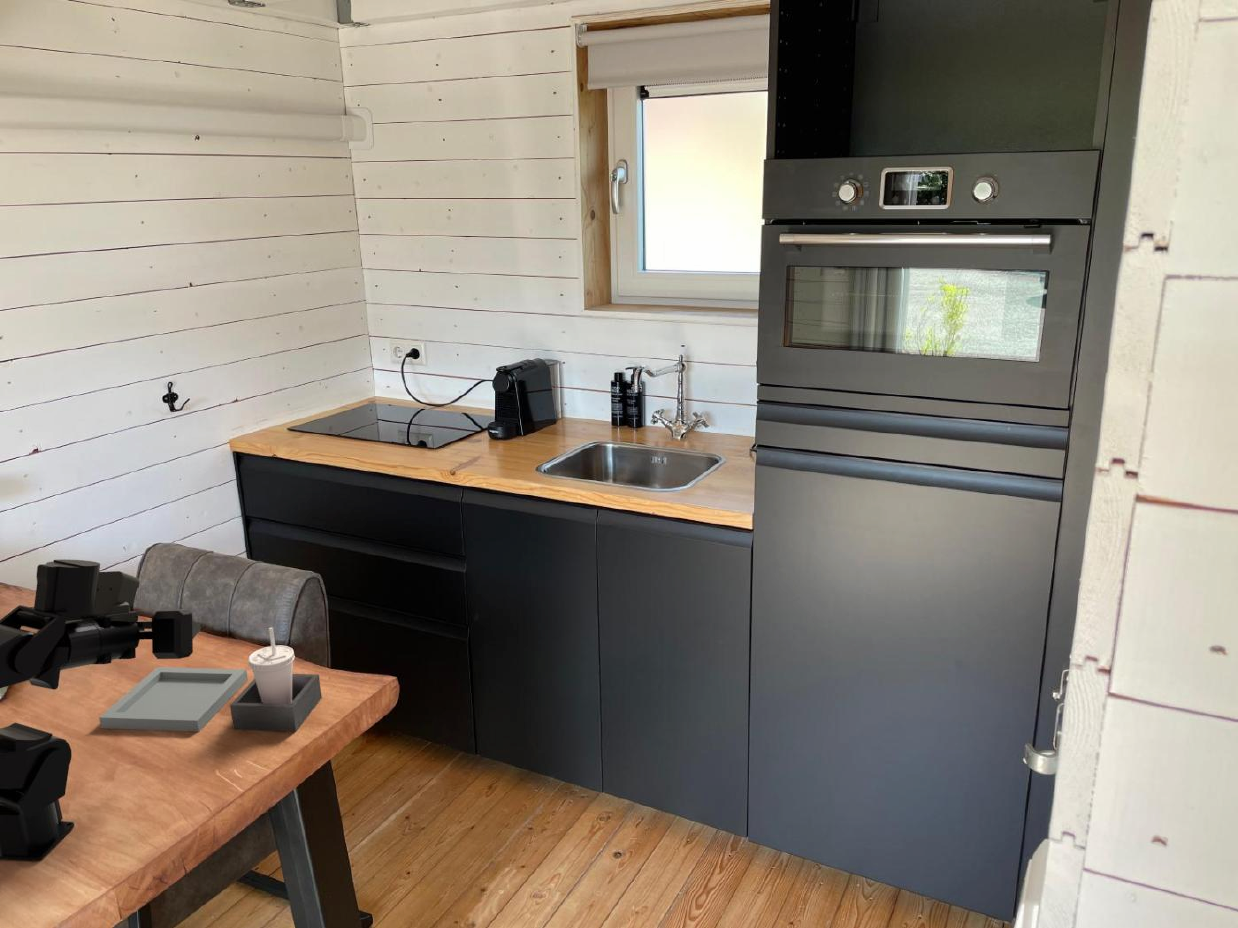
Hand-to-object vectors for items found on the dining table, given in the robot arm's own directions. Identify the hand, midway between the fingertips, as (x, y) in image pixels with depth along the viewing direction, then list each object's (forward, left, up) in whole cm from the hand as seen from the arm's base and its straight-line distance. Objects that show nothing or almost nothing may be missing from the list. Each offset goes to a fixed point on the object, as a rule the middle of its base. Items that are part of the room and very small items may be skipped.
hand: (171, 627), depth 131 cm
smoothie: (+5, -11, -16) cm, 21 cm away
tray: (+7, +6, -16) cm, 18 cm away
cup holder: (+5, -11, -16) cm, 21 cm away
